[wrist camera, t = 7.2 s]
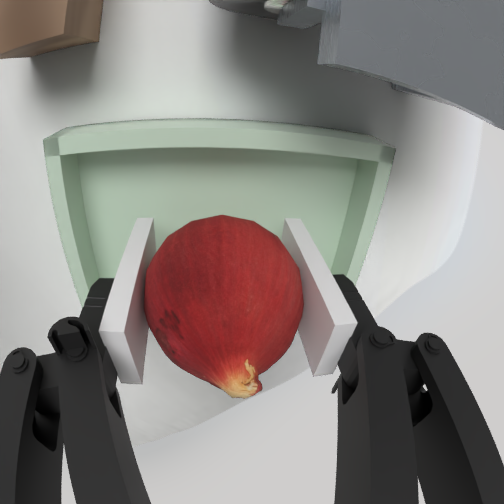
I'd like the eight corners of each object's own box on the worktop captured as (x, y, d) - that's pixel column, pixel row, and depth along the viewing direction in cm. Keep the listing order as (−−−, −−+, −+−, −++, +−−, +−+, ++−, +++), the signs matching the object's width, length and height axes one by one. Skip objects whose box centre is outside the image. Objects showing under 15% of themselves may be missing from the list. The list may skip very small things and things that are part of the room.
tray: (97, 294, 17) (87, 321, 15) (66, 127, 12) (43, 139, 9) (330, 290, 20) (343, 316, 18) (370, 135, 14) (396, 148, 12)
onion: (205, 306, 16) (214, 445, 10) (131, 233, 13) (86, 385, 6) (298, 252, 15) (360, 390, 8) (235, 158, 12) (279, 286, 5)
